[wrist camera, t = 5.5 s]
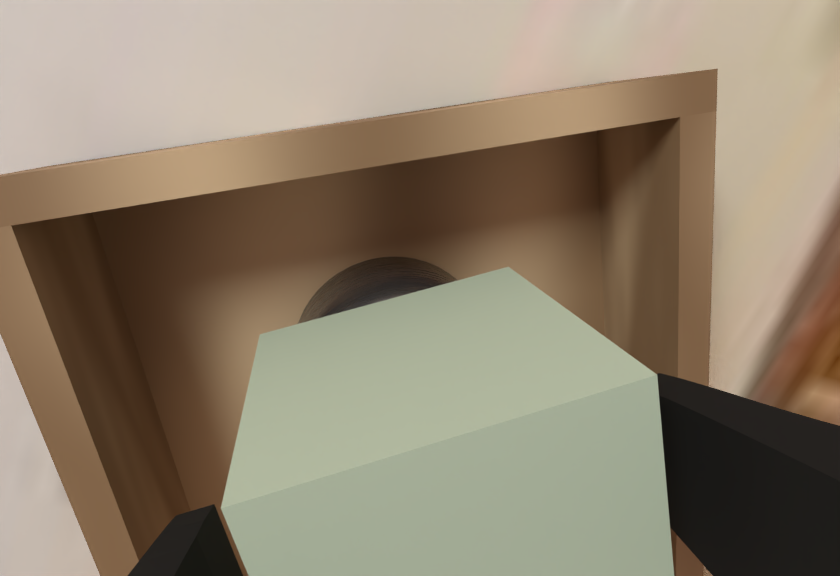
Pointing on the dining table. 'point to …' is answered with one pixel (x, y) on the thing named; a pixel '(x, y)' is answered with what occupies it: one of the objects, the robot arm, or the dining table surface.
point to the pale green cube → (450, 443)
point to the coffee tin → (373, 285)
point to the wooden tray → (333, 267)
